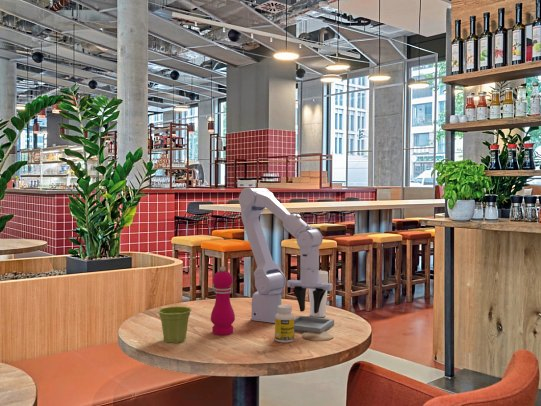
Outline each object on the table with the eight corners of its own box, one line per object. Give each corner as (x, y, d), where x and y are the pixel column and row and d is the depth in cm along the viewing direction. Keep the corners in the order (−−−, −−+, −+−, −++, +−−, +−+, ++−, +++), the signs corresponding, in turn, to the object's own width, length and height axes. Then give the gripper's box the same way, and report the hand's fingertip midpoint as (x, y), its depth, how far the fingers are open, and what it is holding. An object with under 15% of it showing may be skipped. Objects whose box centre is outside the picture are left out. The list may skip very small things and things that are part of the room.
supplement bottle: (279, 344, 147) (279, 309, 147) (271, 338, 152) (272, 305, 152) (297, 341, 149) (297, 307, 149) (288, 336, 154) (289, 303, 154)
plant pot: (152, 339, 151) (152, 309, 151) (182, 333, 157) (182, 304, 157) (166, 347, 144) (166, 315, 144) (197, 341, 149) (197, 310, 149)
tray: (283, 329, 162) (283, 323, 162) (299, 320, 172) (299, 315, 172) (320, 334, 156) (320, 328, 156) (334, 325, 167) (334, 319, 167)
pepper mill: (224, 327, 164) (224, 263, 163) (239, 332, 158) (239, 266, 158) (205, 332, 158) (205, 265, 158) (221, 337, 153) (221, 268, 153)
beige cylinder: (327, 318, 175) (327, 273, 175) (306, 317, 176) (306, 273, 176) (328, 314, 182) (329, 270, 181) (309, 313, 183) (309, 269, 183)
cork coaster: (297, 338, 152) (297, 336, 152) (309, 330, 160) (309, 329, 160) (326, 342, 148) (327, 341, 148) (337, 334, 156) (337, 333, 156)
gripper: (282, 268, 163) (282, 311, 164) (327, 271, 157) (326, 317, 157) (292, 265, 170) (292, 307, 170) (335, 268, 163) (334, 312, 164)
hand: (309, 311), depth 164 cm, fingers open, 4 cm apart
